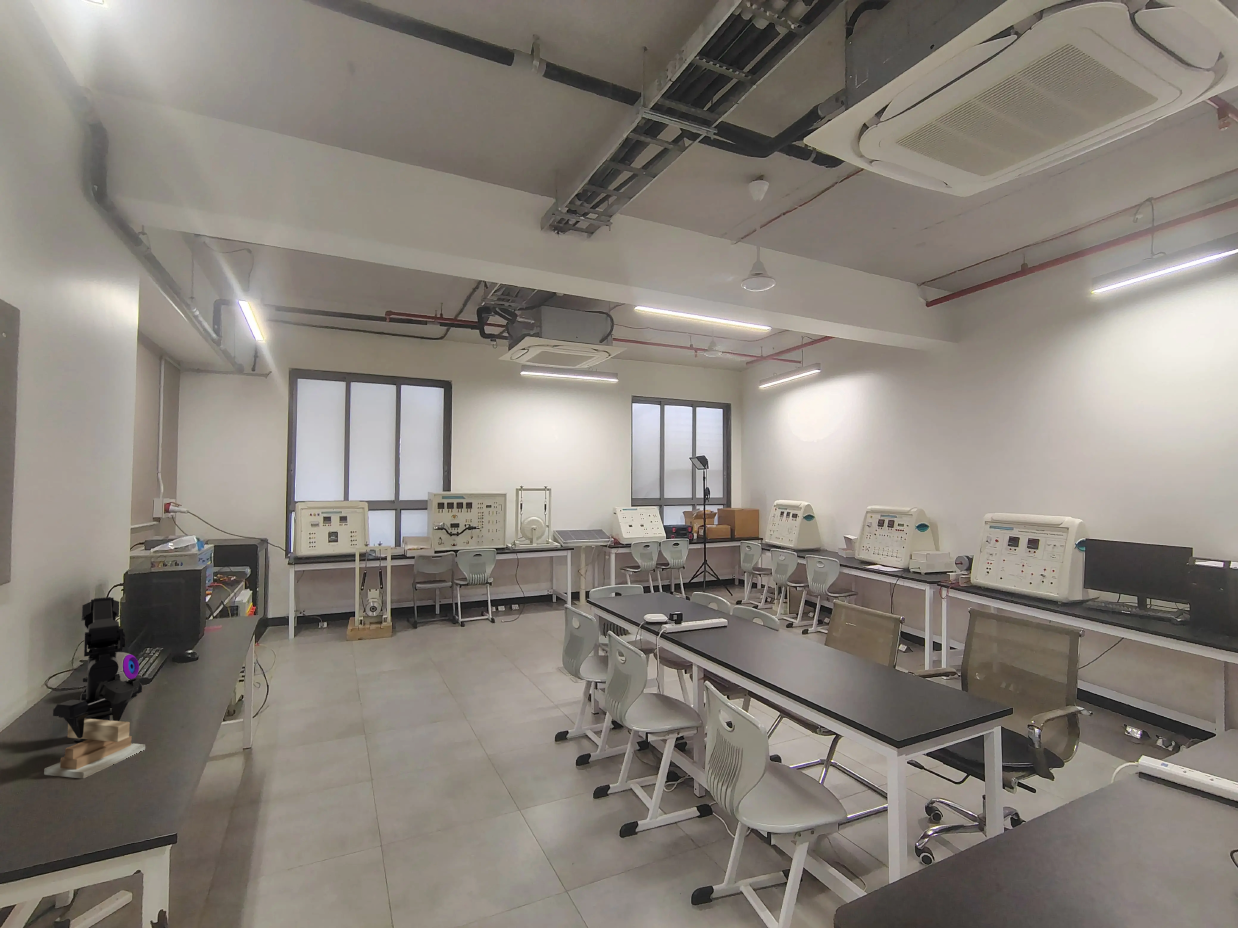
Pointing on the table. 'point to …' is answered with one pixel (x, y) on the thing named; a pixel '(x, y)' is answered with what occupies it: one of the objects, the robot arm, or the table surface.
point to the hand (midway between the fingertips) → (98, 730)
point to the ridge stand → (92, 757)
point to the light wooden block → (103, 730)
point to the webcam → (127, 666)
